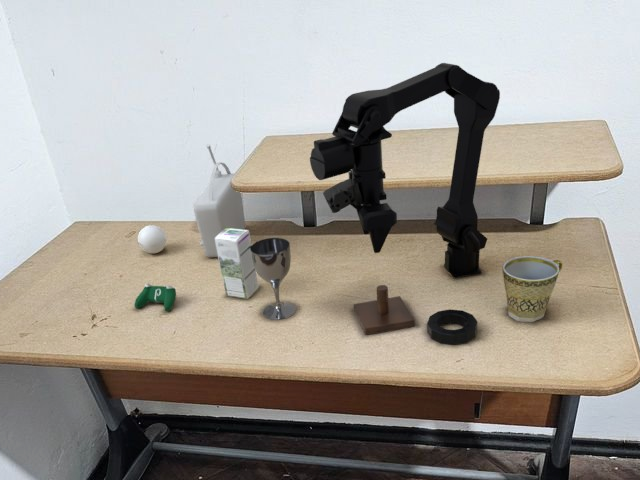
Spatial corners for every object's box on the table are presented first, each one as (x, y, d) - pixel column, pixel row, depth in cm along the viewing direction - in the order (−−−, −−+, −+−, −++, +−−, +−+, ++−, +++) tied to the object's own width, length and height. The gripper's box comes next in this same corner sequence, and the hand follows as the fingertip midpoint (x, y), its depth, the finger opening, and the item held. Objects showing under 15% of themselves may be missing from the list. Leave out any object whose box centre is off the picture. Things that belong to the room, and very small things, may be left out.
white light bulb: (173, 245, 168) (167, 219, 164) (164, 257, 162) (157, 231, 158) (138, 246, 170) (131, 221, 166) (127, 259, 164) (120, 233, 160)
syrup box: (259, 287, 143) (250, 228, 135) (247, 300, 139) (236, 239, 131) (238, 284, 146) (227, 226, 138) (225, 297, 141) (213, 237, 133)
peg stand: (400, 302, 131) (399, 272, 128) (415, 326, 123) (414, 295, 119) (353, 310, 131) (351, 280, 127) (365, 335, 122) (363, 304, 118)
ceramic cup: (524, 333, 117) (529, 285, 112) (488, 311, 125) (491, 265, 119) (576, 311, 122) (583, 264, 116) (538, 291, 129) (543, 246, 124)
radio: (219, 227, 176) (202, 136, 162) (248, 225, 174) (233, 134, 161) (197, 262, 158) (176, 164, 144) (229, 261, 156) (211, 162, 143)
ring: (465, 315, 124) (466, 306, 123) (483, 339, 117) (484, 329, 116) (421, 323, 124) (421, 314, 122) (437, 348, 116) (437, 338, 115)
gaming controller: (176, 314, 140) (181, 288, 141) (168, 310, 137) (173, 283, 138) (141, 311, 143) (146, 286, 144) (132, 306, 140) (137, 281, 141)
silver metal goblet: (293, 321, 129) (284, 255, 121) (256, 320, 131) (245, 255, 123) (301, 301, 136) (293, 237, 128) (266, 301, 138) (256, 237, 129)
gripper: (316, 158, 124) (324, 231, 133) (333, 189, 109) (340, 270, 117) (371, 149, 125) (375, 222, 133) (396, 179, 109) (399, 260, 118)
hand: (371, 242), depth 125 cm, fingers open, 9 cm apart
